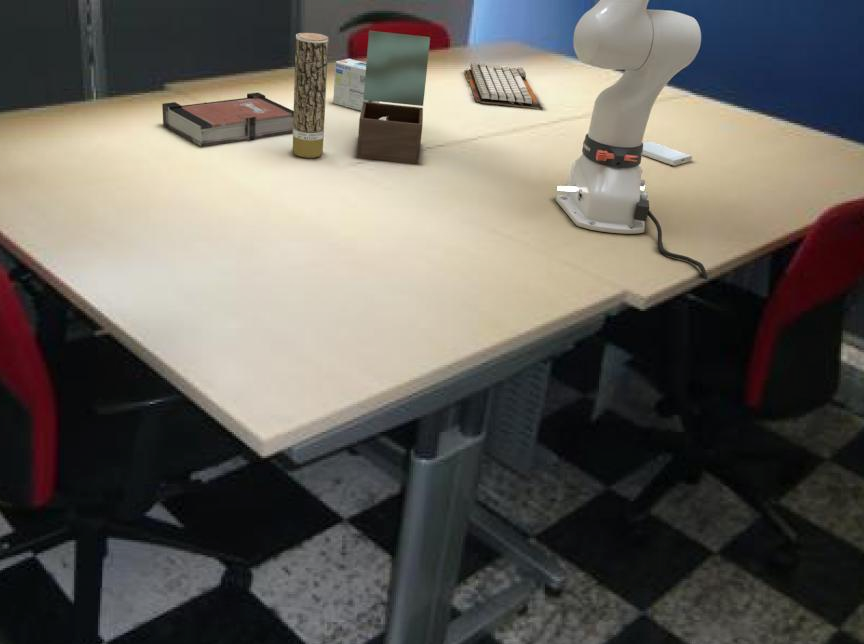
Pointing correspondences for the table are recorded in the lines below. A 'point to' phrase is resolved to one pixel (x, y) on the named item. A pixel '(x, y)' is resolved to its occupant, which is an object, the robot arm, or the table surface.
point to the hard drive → (665, 154)
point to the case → (390, 132)
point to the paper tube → (309, 94)
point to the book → (228, 120)
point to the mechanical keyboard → (501, 86)
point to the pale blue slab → (396, 68)
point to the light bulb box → (350, 84)
